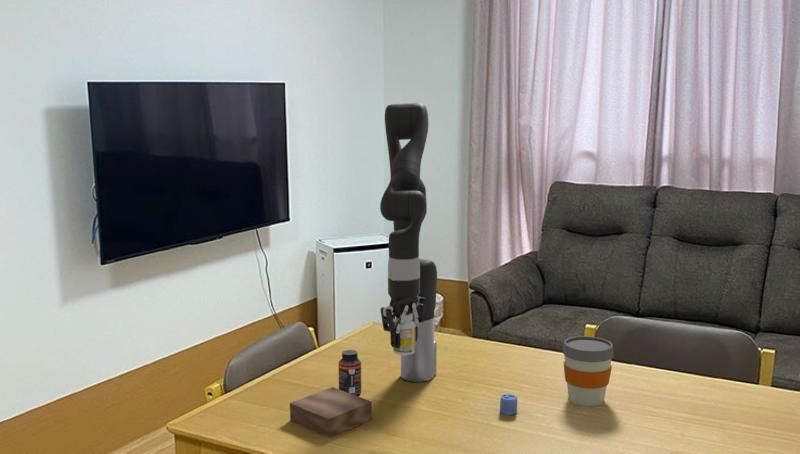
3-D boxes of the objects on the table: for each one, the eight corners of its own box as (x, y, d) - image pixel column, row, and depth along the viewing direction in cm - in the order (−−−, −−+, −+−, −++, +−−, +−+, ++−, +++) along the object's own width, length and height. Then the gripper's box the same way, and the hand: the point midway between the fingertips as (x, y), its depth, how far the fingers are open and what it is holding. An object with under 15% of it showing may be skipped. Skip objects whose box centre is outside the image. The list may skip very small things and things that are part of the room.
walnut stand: (332, 403, 211) (332, 387, 211) (372, 419, 202) (371, 401, 201) (290, 420, 201) (289, 403, 200) (329, 437, 192) (328, 419, 191)
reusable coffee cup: (615, 394, 217) (618, 339, 214) (605, 412, 206) (608, 354, 203) (567, 387, 222) (569, 333, 219) (556, 404, 211) (557, 347, 208)
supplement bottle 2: (405, 357, 194) (405, 318, 192) (388, 352, 198) (388, 313, 196) (420, 351, 198) (420, 312, 196) (402, 346, 202) (402, 308, 200)
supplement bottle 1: (358, 398, 215) (357, 356, 213) (336, 396, 216) (335, 355, 214) (363, 389, 221) (363, 349, 219) (342, 388, 222) (341, 347, 220)
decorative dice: (516, 415, 204) (516, 400, 203) (499, 414, 204) (500, 399, 204) (517, 409, 208) (517, 394, 207) (501, 408, 208) (501, 393, 208)
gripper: (412, 267, 202) (412, 334, 205) (370, 278, 192) (371, 348, 195) (435, 272, 197) (435, 340, 200) (394, 283, 187) (395, 355, 190)
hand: (404, 344), depth 197 cm, fingers closed on supplement bottle 2, 5 cm apart
